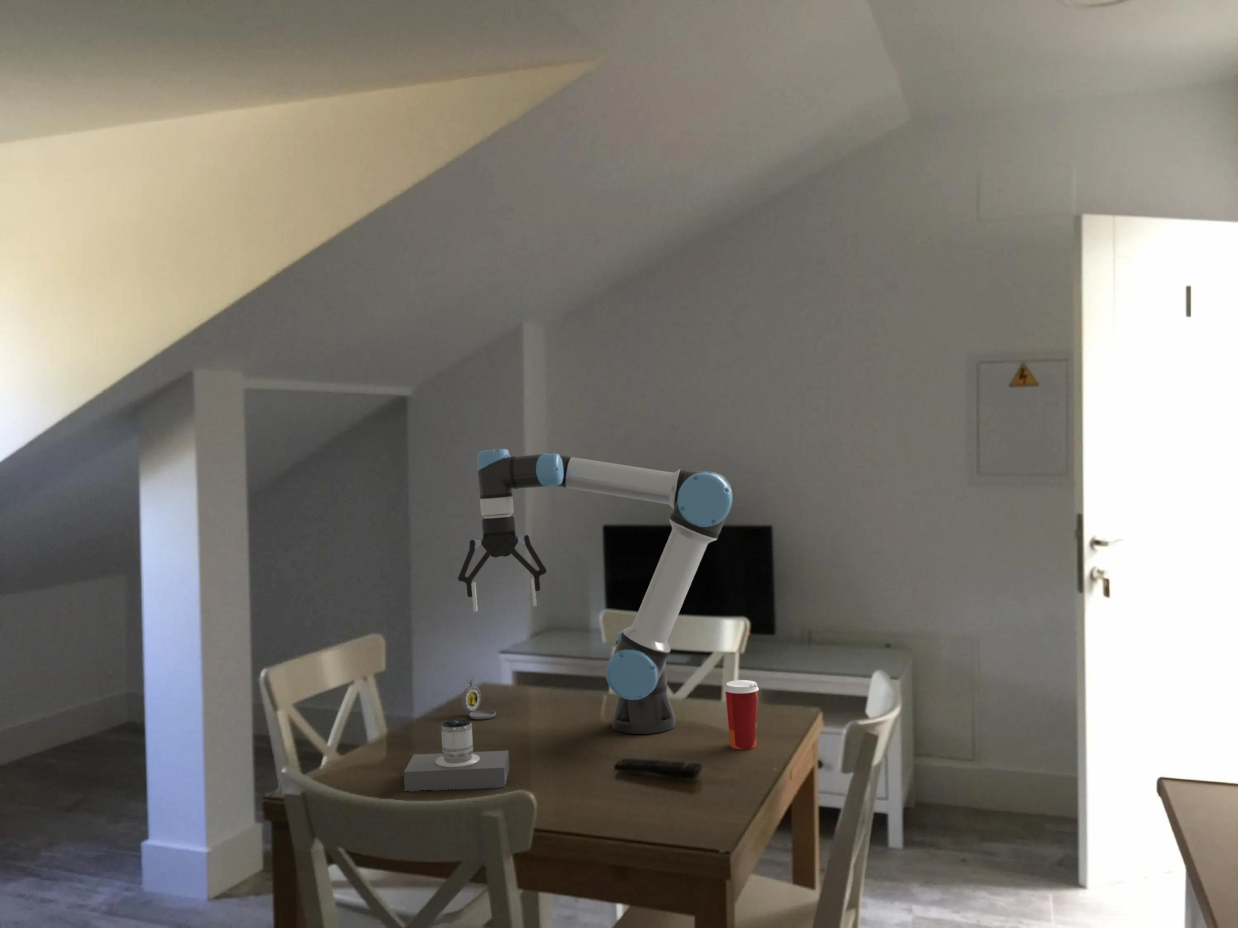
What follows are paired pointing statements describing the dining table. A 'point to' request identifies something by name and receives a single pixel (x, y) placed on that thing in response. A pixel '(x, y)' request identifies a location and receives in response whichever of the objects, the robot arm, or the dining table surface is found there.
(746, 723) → the paper cup
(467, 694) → the pocket watch
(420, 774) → the box with white oval
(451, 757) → the camera lens
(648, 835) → the dining table surface
